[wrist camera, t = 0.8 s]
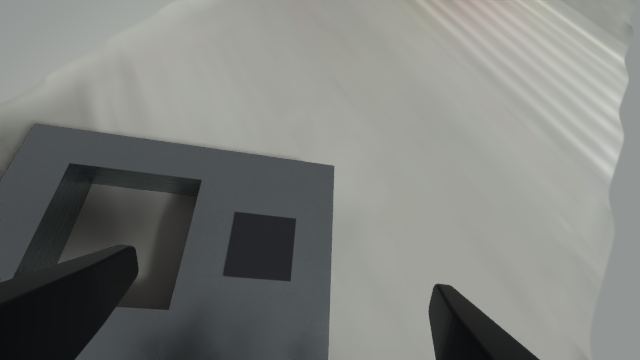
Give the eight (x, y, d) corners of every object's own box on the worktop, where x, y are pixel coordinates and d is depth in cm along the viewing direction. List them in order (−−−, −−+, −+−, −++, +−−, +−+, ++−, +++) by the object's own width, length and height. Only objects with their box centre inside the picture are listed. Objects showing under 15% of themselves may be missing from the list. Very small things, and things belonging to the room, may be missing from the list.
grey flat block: (317, 364, 19) (327, 369, 17) (-46, 349, 16) (-106, 354, 14) (325, 182, 25) (334, 165, 22) (60, 147, 22) (33, 122, 19)
